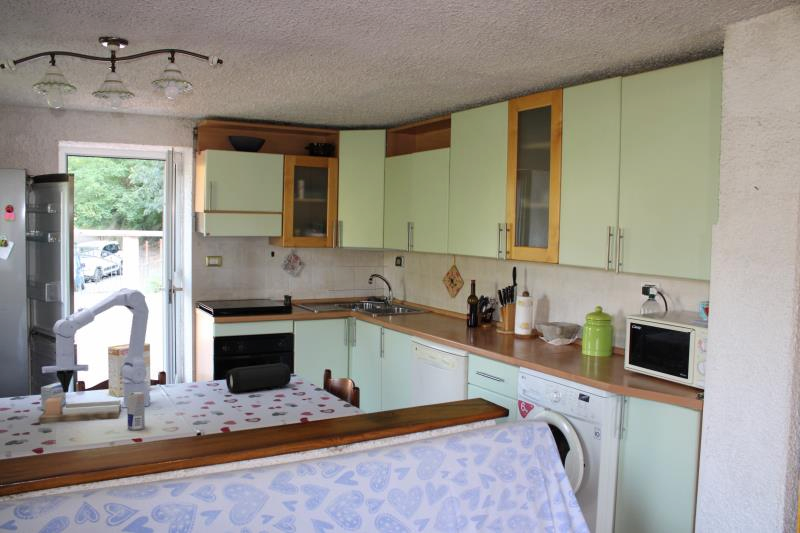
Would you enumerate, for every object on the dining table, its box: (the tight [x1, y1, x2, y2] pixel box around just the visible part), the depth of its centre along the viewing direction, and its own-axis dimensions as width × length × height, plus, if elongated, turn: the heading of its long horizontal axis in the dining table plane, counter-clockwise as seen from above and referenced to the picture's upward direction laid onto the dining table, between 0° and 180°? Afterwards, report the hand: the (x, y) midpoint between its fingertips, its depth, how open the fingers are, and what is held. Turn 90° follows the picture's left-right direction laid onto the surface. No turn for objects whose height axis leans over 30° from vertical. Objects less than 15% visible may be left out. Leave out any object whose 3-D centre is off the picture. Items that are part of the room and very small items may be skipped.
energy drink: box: [126, 391, 146, 431], centre depth 231 cm, size 5×5×12 cm
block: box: [46, 398, 63, 415], centre depth 242 cm, size 4×4×4 cm
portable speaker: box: [225, 363, 292, 393], centre depth 289 cm, size 26×10×10 cm, turn 124°
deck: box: [38, 403, 122, 424], centre depth 245 cm, size 25×12×2 cm, turn 107°
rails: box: [62, 399, 121, 415], centre depth 246 cm, size 18×8×2 cm, turn 107°
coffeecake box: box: [107, 342, 151, 398], centre depth 280 cm, size 15×7×20 cm, turn 144°
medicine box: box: [40, 382, 67, 411], centre depth 255 cm, size 8×4×9 cm, turn 168°
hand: (65, 391), depth 243 cm, fingers closed
